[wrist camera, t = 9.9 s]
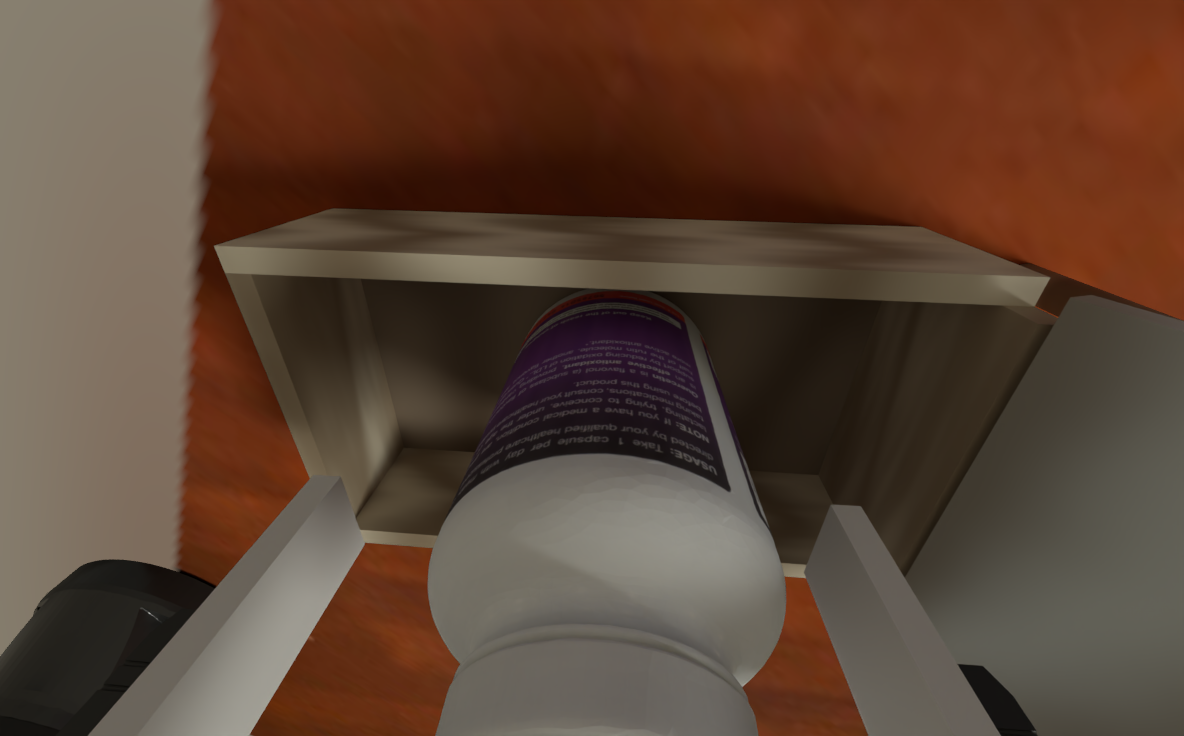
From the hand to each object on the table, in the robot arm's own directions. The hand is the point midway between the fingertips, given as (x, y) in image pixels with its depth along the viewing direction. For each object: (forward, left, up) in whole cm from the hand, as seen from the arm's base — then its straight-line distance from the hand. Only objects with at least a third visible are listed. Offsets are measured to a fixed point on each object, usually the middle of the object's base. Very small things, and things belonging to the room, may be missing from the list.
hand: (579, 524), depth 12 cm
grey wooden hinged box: (+3, 0, -9) cm, 10 cm away
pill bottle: (+1, 0, -9) cm, 9 cm away
